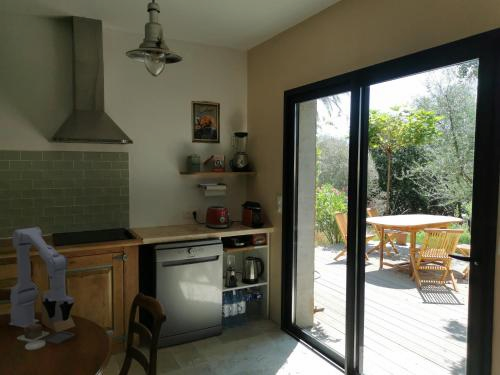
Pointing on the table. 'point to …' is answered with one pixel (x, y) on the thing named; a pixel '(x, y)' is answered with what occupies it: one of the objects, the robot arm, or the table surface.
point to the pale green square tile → (33, 339)
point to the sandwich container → (57, 321)
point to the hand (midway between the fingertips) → (58, 318)
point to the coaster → (35, 345)
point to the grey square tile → (58, 337)
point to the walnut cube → (33, 331)
